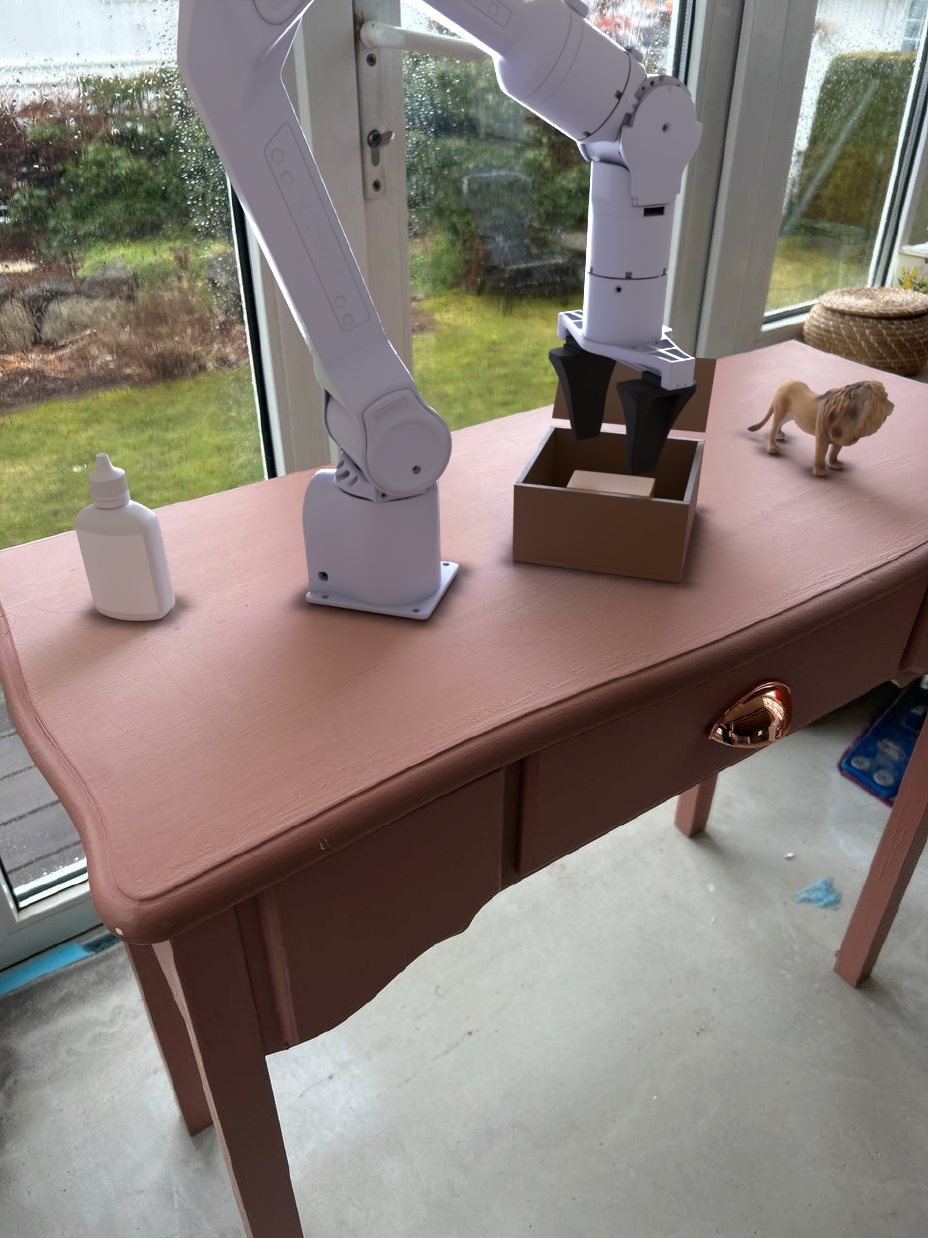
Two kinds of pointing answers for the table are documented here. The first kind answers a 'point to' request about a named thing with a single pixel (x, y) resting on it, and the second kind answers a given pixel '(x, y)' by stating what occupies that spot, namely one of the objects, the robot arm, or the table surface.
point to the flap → (691, 414)
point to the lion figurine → (828, 416)
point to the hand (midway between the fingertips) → (612, 453)
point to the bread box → (606, 508)
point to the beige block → (612, 483)
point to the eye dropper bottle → (122, 550)
